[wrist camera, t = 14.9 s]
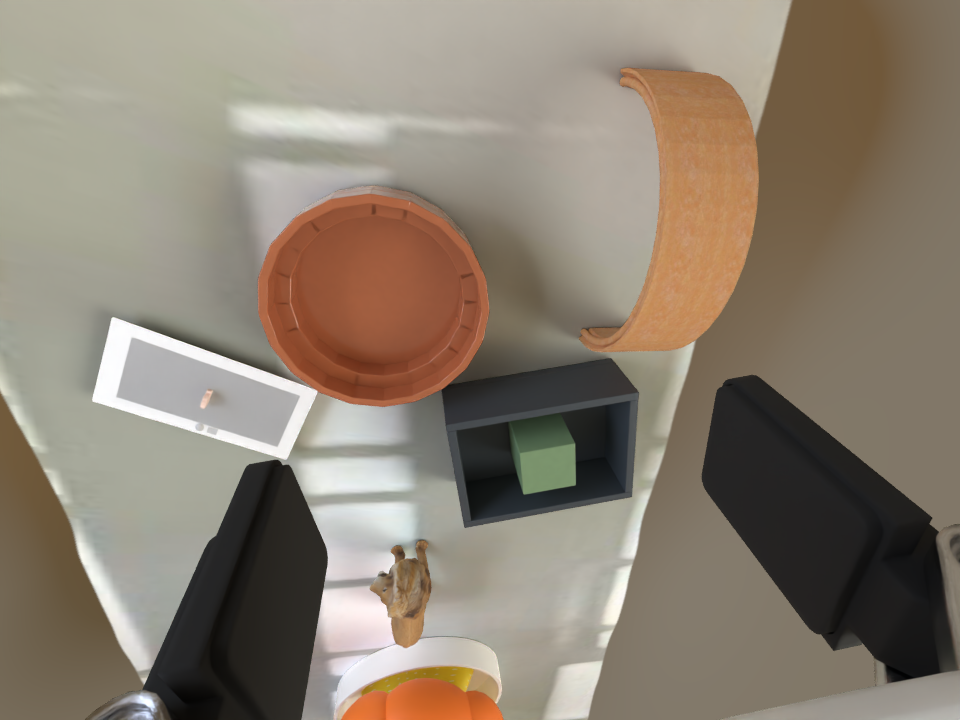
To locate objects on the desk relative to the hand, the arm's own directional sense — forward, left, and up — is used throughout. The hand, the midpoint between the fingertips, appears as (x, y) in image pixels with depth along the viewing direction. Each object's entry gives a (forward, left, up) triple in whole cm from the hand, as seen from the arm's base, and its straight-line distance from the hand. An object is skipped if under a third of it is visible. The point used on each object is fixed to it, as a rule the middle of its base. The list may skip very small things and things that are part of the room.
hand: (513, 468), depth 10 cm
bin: (+20, +6, -27) cm, 34 cm away
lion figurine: (+36, -9, -27) cm, 46 cm away
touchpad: (+11, -20, -27) cm, 36 cm away
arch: (+2, +15, -27) cm, 31 cm away
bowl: (+5, -5, -27) cm, 28 cm away
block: (+20, +6, -26) cm, 34 cm away
